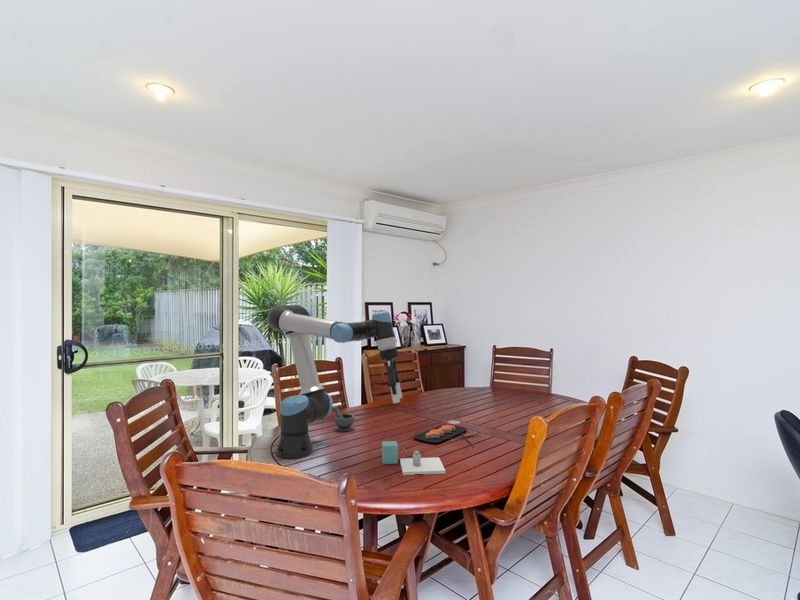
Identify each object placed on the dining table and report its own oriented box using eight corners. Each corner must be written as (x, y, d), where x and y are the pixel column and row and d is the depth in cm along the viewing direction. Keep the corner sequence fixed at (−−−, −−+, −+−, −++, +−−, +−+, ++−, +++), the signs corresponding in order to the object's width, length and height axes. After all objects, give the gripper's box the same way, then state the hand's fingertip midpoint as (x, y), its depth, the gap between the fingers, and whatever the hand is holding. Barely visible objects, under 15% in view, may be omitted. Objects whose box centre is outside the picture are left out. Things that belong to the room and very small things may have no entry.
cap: (382, 463, 177) (382, 446, 177) (382, 458, 183) (382, 441, 183) (397, 463, 177) (397, 445, 177) (396, 458, 183) (396, 441, 183)
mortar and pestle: (356, 428, 227) (356, 404, 227) (350, 433, 218) (350, 408, 218) (335, 426, 229) (335, 403, 229) (329, 432, 220) (329, 407, 220)
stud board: (402, 475, 165) (402, 458, 165) (399, 461, 179) (399, 446, 179) (445, 473, 167) (445, 457, 167) (439, 460, 181) (439, 445, 181)
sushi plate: (445, 427, 230) (445, 419, 230) (497, 438, 211) (497, 430, 211) (410, 440, 208) (410, 432, 208) (466, 454, 189) (466, 445, 189)
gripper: (394, 347, 171) (405, 402, 168) (399, 346, 195) (408, 395, 193) (375, 351, 171) (385, 406, 169) (382, 350, 196) (391, 398, 193)
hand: (398, 400), depth 181 cm, fingers open, 13 cm apart
